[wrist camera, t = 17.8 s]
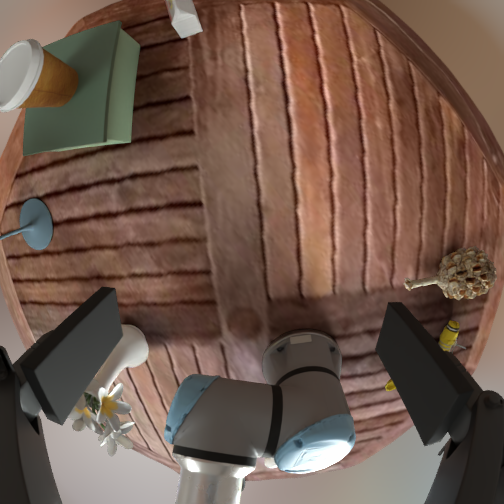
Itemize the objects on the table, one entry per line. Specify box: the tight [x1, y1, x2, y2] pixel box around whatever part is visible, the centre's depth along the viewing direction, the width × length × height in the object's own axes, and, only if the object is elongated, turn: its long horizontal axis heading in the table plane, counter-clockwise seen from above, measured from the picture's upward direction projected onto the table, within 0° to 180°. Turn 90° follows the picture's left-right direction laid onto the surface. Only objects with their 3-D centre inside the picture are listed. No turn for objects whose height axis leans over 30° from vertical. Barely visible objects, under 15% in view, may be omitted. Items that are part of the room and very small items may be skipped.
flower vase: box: [67, 324, 149, 456], centre depth 40 cm, size 13×18×25 cm
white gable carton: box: [165, 0, 203, 39], centre depth 30 cm, size 4×7×10 cm, turn 16°
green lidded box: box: [23, 21, 140, 156], centre depth 34 cm, size 19×17×10 cm
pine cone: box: [403, 246, 497, 300], centre depth 41 cm, size 22×10×10 cm, turn 102°
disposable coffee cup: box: [0, 39, 79, 112], centre depth 23 cm, size 10×10×12 cm
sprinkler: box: [385, 320, 466, 391], centre depth 49 cm, size 19×8×20 cm
